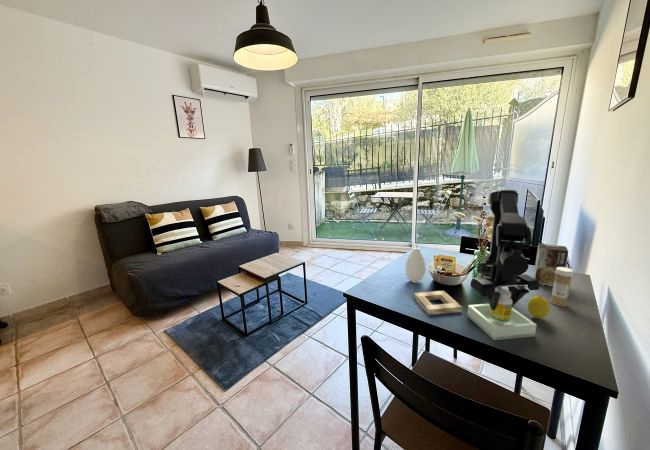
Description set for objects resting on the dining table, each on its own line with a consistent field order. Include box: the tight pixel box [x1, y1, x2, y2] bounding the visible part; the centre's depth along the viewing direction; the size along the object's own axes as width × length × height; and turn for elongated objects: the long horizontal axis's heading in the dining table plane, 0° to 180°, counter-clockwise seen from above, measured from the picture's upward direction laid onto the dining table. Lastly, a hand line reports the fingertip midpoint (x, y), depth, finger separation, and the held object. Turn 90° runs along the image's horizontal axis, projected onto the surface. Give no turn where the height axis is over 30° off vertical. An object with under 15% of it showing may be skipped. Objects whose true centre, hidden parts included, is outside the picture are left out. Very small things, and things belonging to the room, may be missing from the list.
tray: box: [466, 303, 538, 341], centre depth 87 cm, size 13×13×4 cm
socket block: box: [413, 290, 463, 316], centre depth 101 cm, size 12×12×2 cm
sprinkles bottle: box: [550, 267, 574, 307], centre depth 98 cm, size 5×5×13 cm
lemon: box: [527, 295, 550, 319], centre depth 90 cm, size 6×6×8 cm
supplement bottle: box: [490, 288, 513, 323], centre depth 86 cm, size 5×5×10 cm
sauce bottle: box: [404, 242, 426, 284], centre depth 117 cm, size 8×8×18 cm
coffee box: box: [532, 243, 569, 286], centre depth 113 cm, size 9×6×16 cm
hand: (500, 308), depth 87 cm, fingers closed on supplement bottle, 5 cm apart
